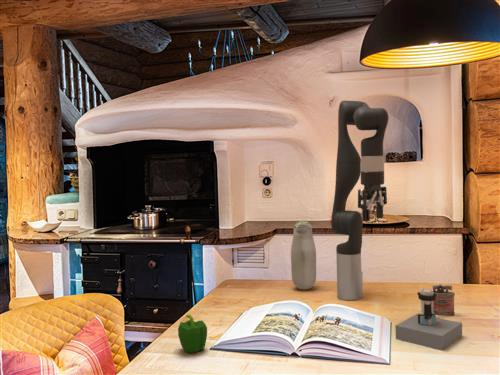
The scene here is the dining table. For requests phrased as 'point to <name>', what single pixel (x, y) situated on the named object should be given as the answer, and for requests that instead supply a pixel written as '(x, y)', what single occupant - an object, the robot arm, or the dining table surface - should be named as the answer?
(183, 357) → the dining table surface
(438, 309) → the lighter
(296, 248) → the grey bottle
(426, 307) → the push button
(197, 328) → the bell pepper
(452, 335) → the slate stand
